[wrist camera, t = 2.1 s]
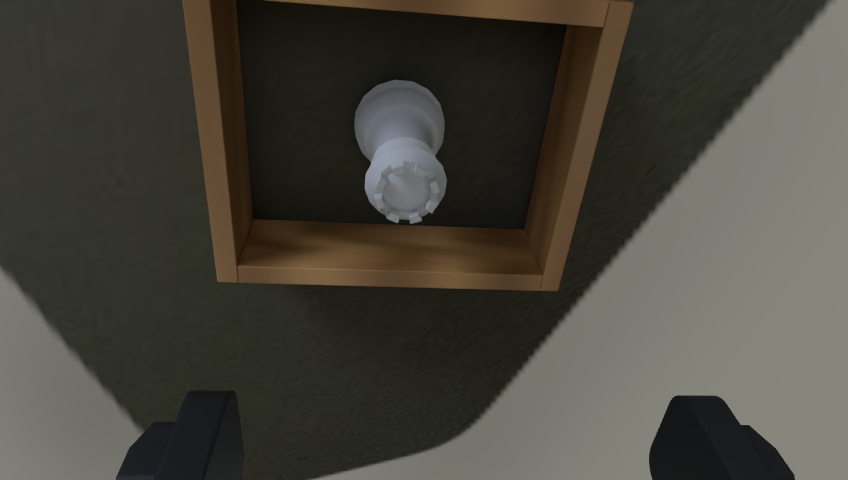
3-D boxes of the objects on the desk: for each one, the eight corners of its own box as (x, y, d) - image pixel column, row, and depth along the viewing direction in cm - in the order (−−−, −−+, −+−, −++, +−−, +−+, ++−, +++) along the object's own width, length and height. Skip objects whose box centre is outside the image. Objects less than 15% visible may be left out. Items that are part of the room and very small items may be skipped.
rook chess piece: (446, 157, 30) (467, 238, 23) (360, 166, 30) (357, 250, 23) (440, 71, 28) (462, 135, 21) (347, 81, 28) (339, 148, 21)
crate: (235, 233, 32) (217, 282, 28) (207, -51, 24) (177, -36, 20) (537, 244, 33) (558, 291, 30) (597, -16, 26) (634, 2, 22)
